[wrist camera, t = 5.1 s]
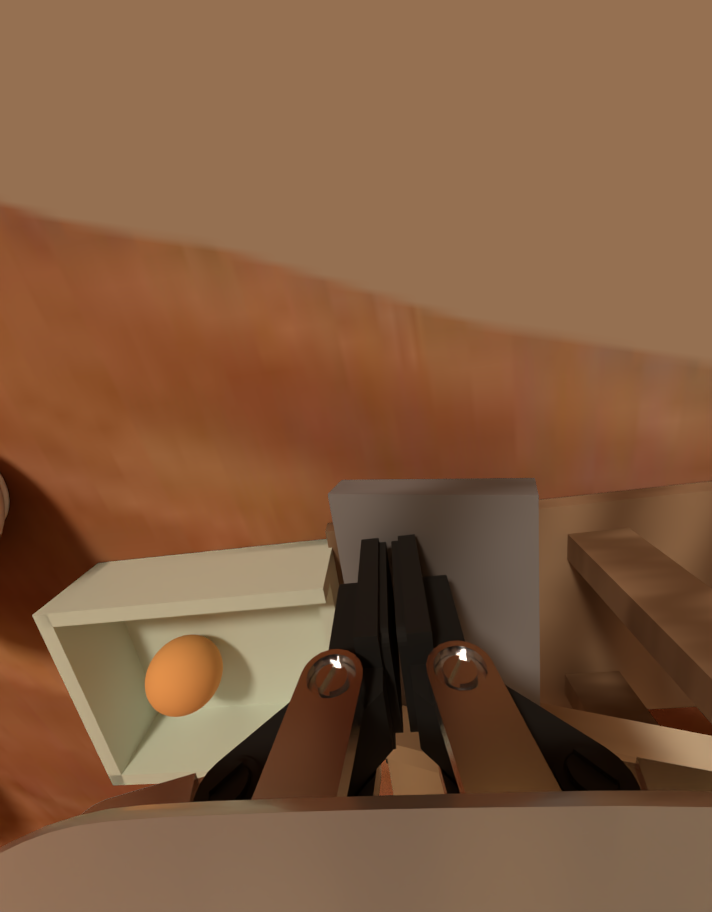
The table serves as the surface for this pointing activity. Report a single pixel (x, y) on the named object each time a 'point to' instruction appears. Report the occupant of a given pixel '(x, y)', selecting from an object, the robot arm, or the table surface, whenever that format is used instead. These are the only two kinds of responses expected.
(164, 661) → the ball
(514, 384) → the table surface
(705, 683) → the stand
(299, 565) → the tray
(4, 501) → the lidded jar
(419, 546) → the lever
